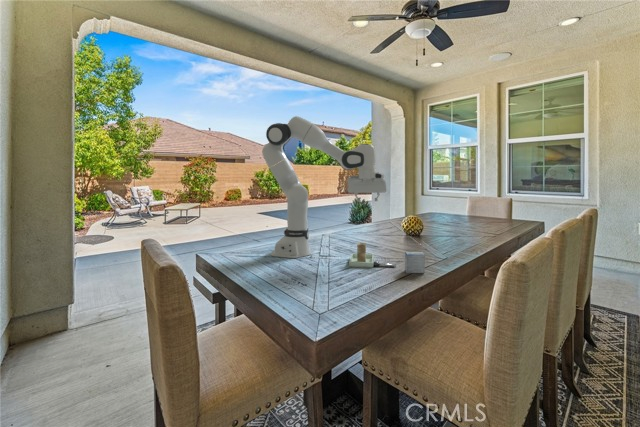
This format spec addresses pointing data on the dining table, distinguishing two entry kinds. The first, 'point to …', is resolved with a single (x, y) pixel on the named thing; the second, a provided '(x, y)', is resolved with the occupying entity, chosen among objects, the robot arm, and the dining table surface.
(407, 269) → the medicine box
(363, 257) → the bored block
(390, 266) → the pin gauge
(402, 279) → the dining table surface
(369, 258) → the tray
